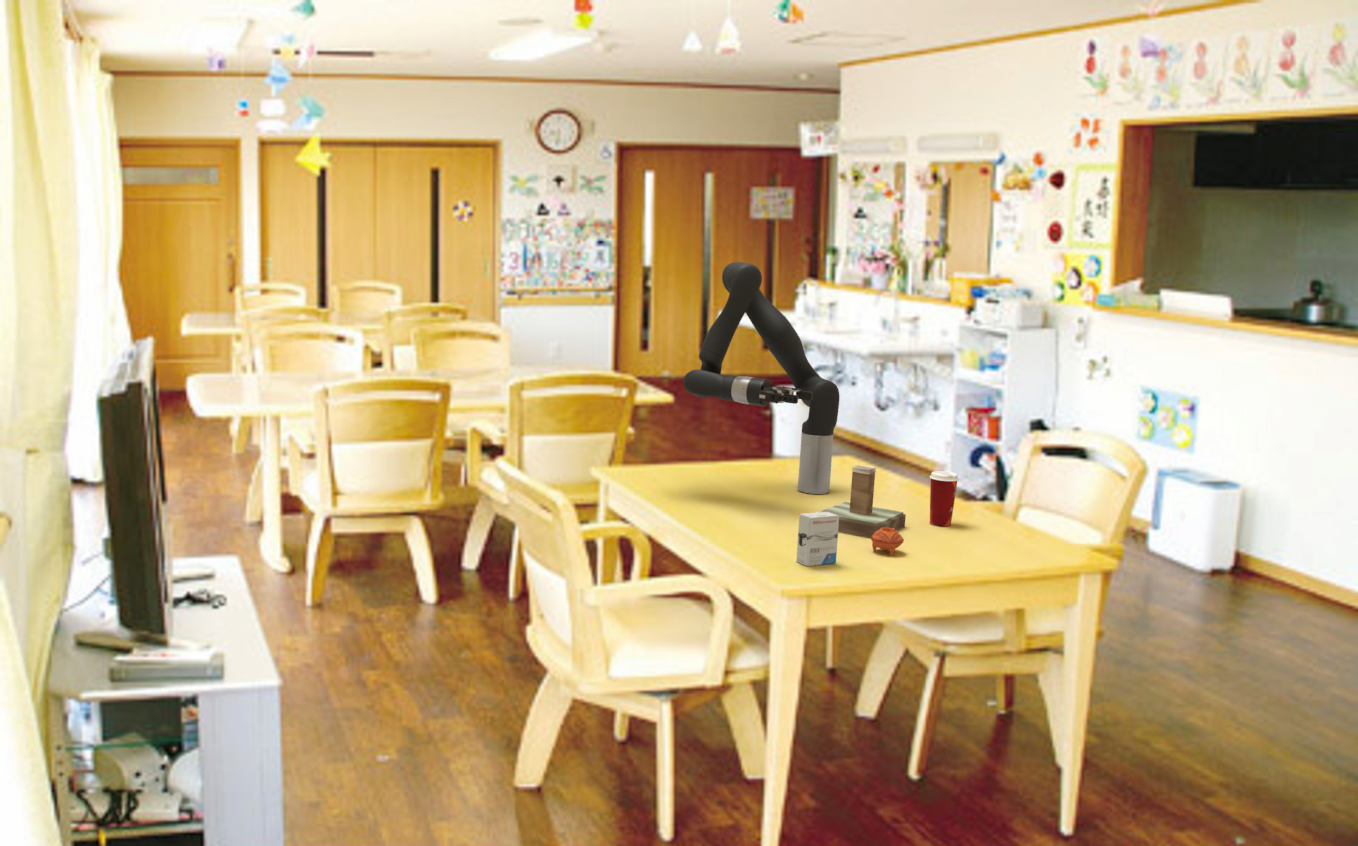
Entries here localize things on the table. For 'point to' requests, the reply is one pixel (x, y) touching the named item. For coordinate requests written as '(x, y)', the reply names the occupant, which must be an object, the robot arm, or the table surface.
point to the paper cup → (942, 497)
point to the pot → (886, 539)
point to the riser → (866, 520)
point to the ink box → (817, 538)
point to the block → (862, 489)
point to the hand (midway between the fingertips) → (804, 398)
